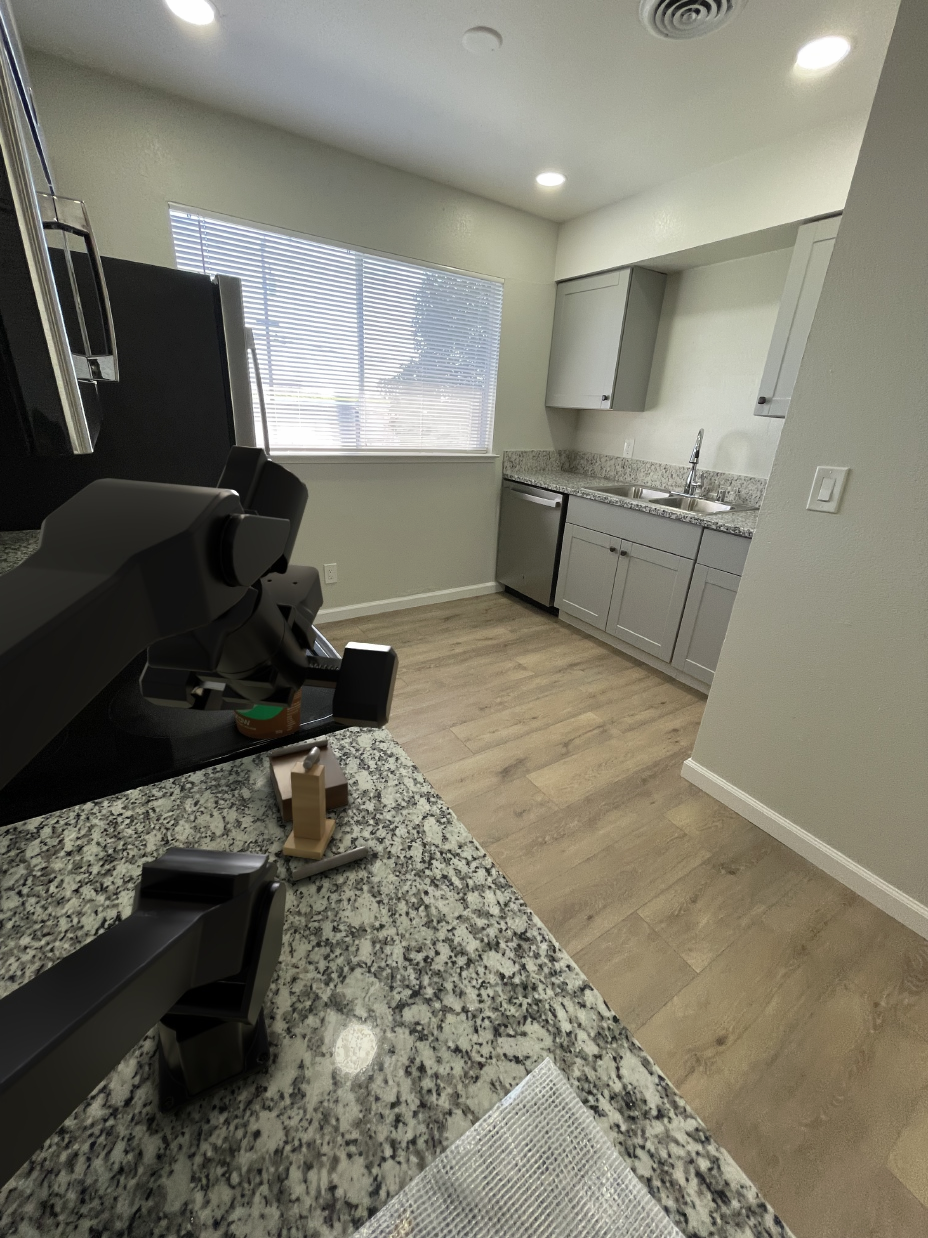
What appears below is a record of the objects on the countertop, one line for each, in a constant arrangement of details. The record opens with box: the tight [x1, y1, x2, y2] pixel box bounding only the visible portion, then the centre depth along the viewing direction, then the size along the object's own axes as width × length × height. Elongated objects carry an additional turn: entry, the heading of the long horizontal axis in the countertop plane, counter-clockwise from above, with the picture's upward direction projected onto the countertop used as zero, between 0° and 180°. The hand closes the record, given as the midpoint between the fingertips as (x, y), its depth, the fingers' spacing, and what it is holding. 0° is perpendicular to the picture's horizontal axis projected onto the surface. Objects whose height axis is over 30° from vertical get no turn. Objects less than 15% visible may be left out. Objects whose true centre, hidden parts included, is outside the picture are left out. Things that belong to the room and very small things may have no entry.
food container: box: [233, 686, 303, 740], centre depth 67 cm, size 12×6×10 cm, turn 62°
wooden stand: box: [268, 738, 368, 882], centre depth 55 cm, size 16×8×4 cm, turn 29°
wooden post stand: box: [282, 747, 336, 861], centre depth 50 cm, size 5×4×10 cm
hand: (301, 708), depth 47 cm, fingers open, 9 cm apart
